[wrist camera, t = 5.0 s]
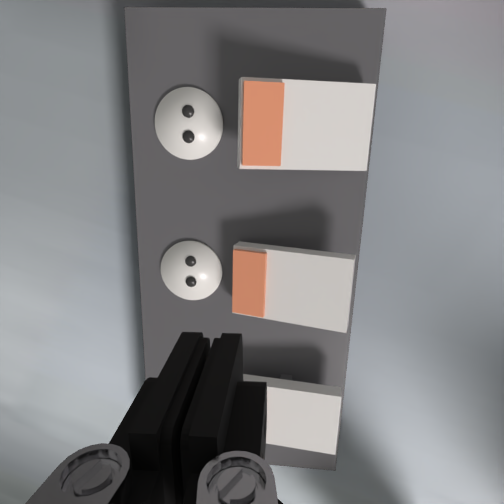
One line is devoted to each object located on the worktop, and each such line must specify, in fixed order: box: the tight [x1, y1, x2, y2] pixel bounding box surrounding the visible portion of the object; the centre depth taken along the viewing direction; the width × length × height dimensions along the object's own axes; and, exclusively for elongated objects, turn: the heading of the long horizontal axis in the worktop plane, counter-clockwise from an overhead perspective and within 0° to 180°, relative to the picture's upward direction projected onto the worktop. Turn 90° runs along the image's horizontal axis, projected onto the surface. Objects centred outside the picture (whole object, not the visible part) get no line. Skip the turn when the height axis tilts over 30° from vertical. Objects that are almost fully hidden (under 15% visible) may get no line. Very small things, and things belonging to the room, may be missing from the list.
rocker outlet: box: [237, 77, 376, 171], centre depth 21 cm, size 7×4×1 cm, turn 88°
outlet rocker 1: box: [232, 241, 356, 333], centre depth 23 cm, size 7×4×1 cm, turn 89°
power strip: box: [124, 7, 386, 471], centre depth 27 cm, size 14×39×4 cm, turn 179°
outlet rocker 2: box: [243, 374, 342, 455], centre depth 26 cm, size 7×4×1 cm, turn 89°
